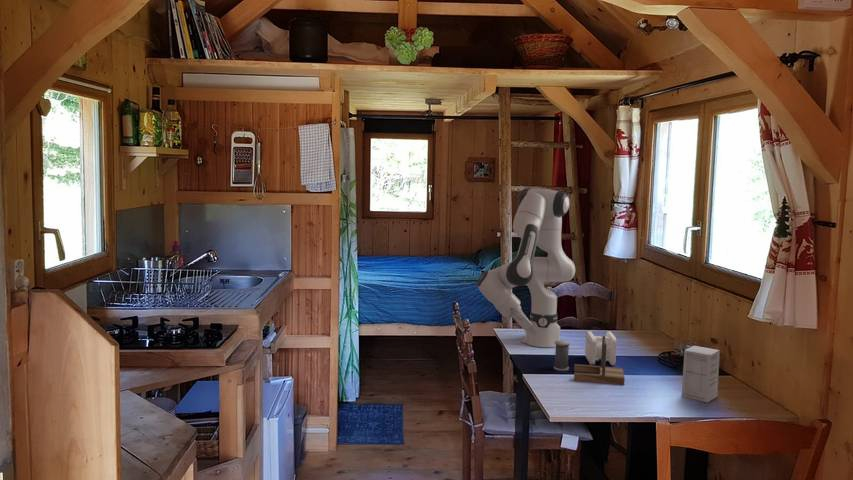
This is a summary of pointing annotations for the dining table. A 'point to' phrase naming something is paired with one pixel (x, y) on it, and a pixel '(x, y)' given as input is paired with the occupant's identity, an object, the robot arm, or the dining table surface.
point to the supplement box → (700, 373)
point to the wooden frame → (599, 371)
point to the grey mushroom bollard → (561, 355)
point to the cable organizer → (600, 347)
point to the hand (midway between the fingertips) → (533, 331)
